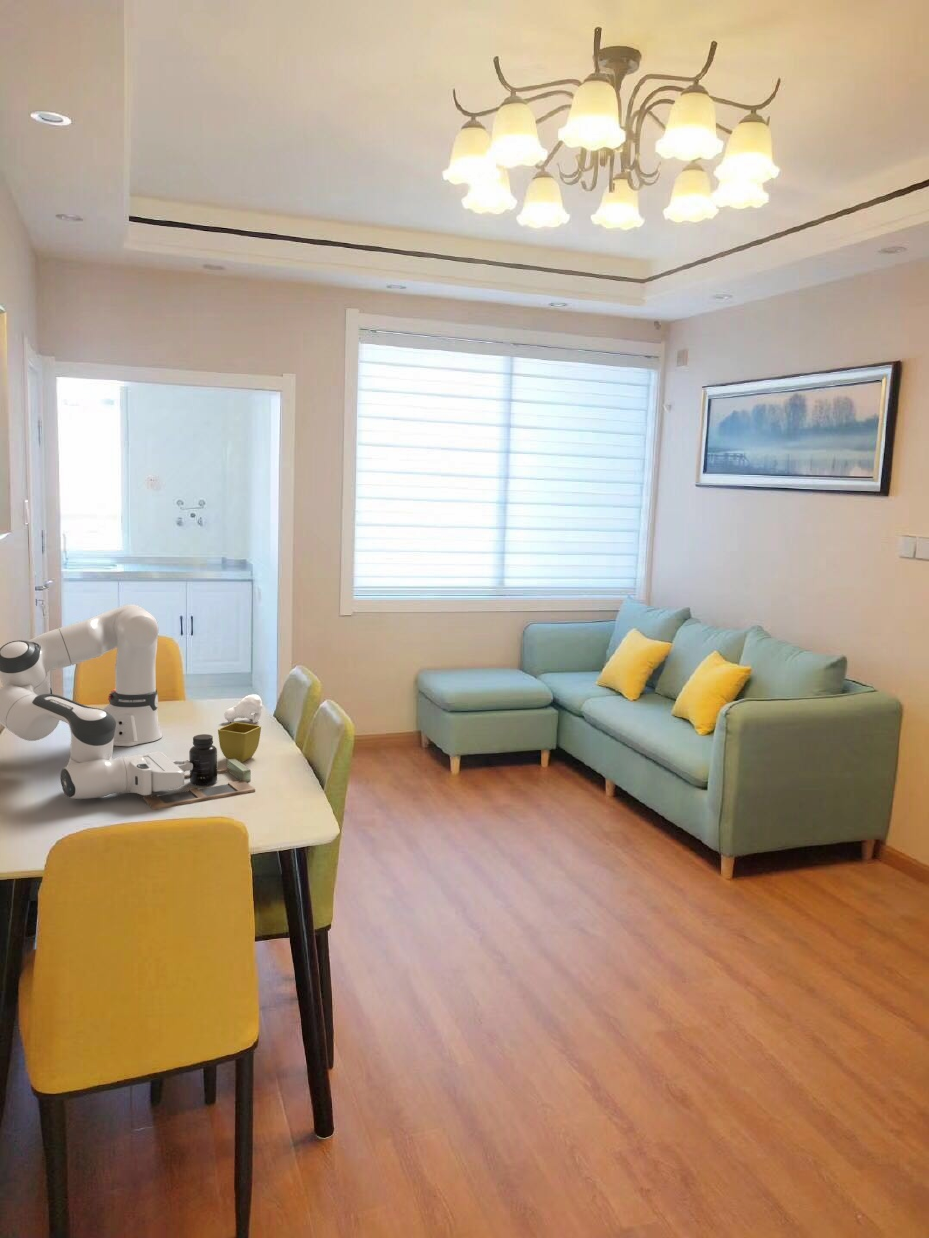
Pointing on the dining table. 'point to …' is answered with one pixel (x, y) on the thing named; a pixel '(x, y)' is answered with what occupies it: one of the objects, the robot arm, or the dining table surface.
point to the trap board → (207, 789)
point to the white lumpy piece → (245, 709)
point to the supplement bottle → (203, 761)
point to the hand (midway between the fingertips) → (191, 764)
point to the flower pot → (239, 740)
